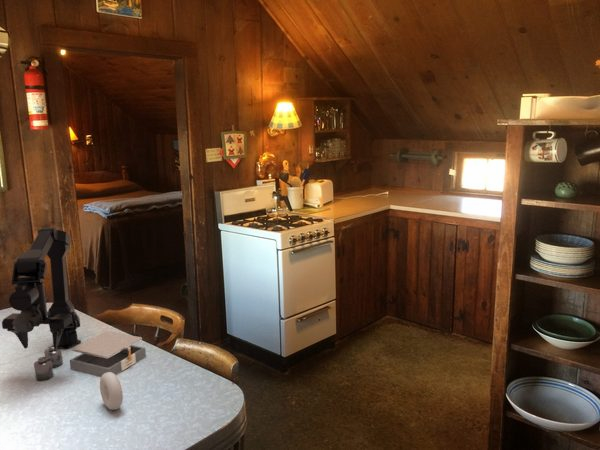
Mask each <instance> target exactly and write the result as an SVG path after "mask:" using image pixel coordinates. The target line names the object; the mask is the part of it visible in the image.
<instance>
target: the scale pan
mask: <svg viewBox="0 0 600 450" xmlns="http://www.w3.org/2000/svg"><path fill="white" fill-rule="evenodd" d="M141 340H143V337H141V336H136V335H129V334H126V333H121V332H117V331H116V332H114V331H111V330H110V331H109V330H105V331H103V332H101V333H99V334H98V335H96V336H95V335H94V337H91V338H90V339H88V340H85V341H83V342H80V343H78V344H76V345H74V346H72V347H70V351H72V352H75V353H79V354H82V353H84V354H89V355H93V356H96V357H97V358H98V357H99V358H101V359H102V358H103V359H109V358H112V357H114V356H115V355H117V354H119V353H121V352H120V351H122V350H124V349H126V350H128V354H127V357H128V360H131V359H132V357H131V350H130V349H131V347H129V346H131V345H134V344H136V343H138V342H140V341H141Z"/></svg>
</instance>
